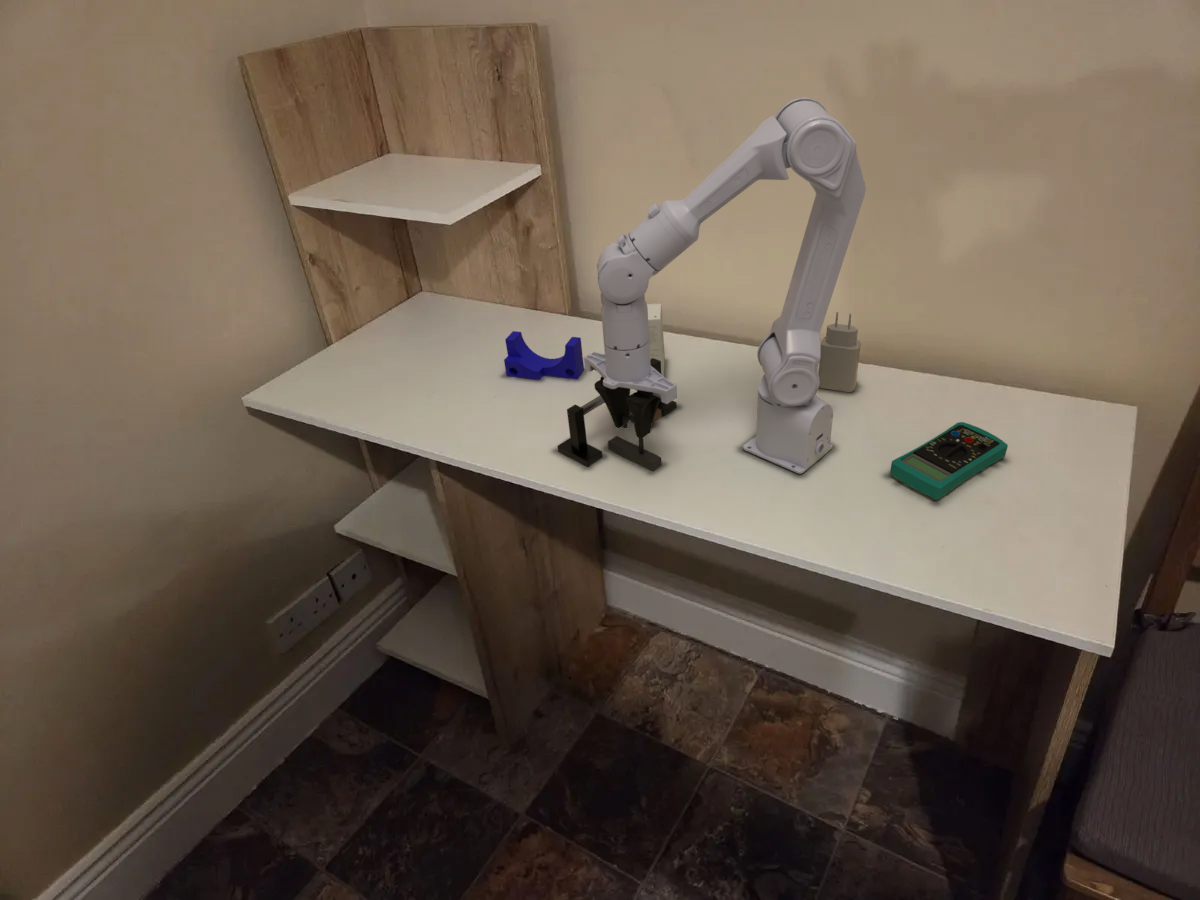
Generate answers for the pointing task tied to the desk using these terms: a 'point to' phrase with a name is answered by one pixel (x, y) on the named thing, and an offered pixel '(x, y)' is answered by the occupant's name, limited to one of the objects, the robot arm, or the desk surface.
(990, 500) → the desk surface
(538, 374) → the blue curved cradle bracket
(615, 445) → the black hanger
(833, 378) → the power adapter
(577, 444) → the rail stand
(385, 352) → the desk surface
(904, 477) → the digital multimeter
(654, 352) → the small box
